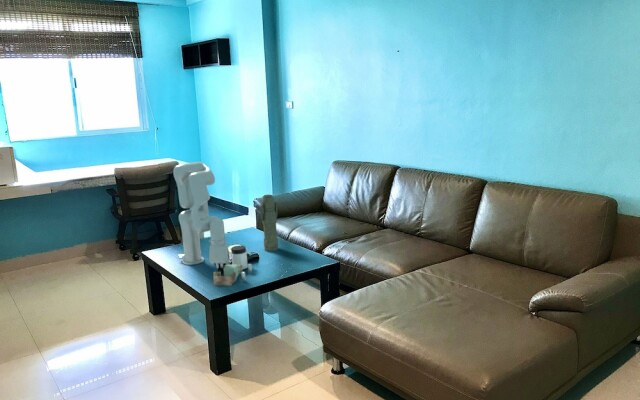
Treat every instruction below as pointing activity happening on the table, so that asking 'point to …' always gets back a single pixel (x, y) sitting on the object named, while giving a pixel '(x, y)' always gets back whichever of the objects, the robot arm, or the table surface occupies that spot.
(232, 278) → the tunnel
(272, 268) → the table surface
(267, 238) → the olive brown statue
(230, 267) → the block
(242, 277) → the goal posts
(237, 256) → the jar
